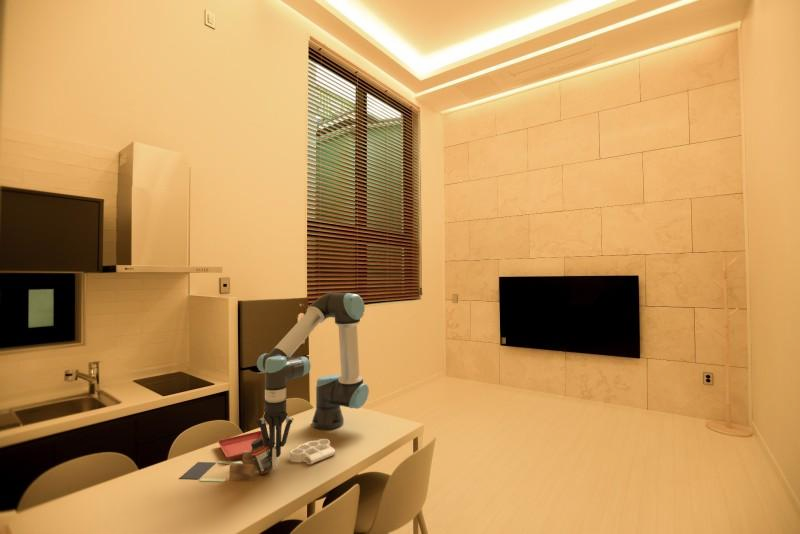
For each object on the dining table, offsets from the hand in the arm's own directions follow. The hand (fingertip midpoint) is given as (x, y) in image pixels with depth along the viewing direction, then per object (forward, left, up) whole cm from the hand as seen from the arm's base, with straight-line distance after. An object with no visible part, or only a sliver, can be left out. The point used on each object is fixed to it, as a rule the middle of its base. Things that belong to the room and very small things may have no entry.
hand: (275, 465), depth 140 cm
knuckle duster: (-10, -16, -4) cm, 19 cm away
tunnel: (+10, 0, -3) cm, 11 cm away
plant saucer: (+19, -18, -4) cm, 27 cm away
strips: (+20, 0, -3) cm, 20 cm away
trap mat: (+29, 0, -3) cm, 29 cm away
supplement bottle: (+3, 0, -2) cm, 4 cm away
